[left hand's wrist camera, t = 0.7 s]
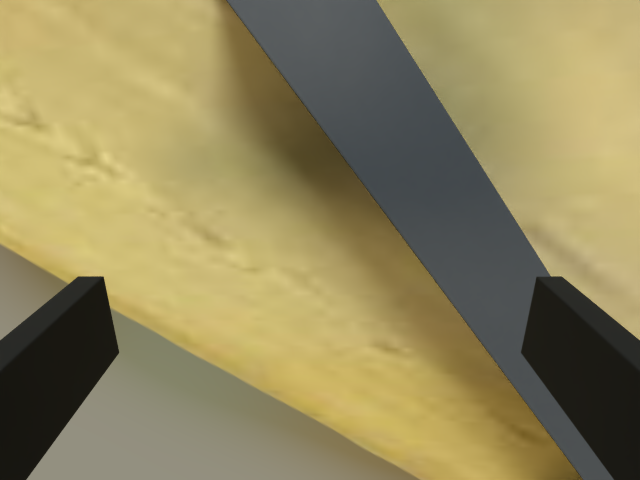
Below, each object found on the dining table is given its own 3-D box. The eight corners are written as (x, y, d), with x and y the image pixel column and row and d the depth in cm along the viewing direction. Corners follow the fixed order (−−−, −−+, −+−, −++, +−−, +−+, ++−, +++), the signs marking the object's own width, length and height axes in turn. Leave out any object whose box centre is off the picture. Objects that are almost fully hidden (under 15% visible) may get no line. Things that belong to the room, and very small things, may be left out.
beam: (212, -32, 27) (173, -71, 20) (284, -101, 26) (269, -169, 19) (604, 500, 44) (659, 582, 37) (659, 475, 43) (727, 555, 36)
